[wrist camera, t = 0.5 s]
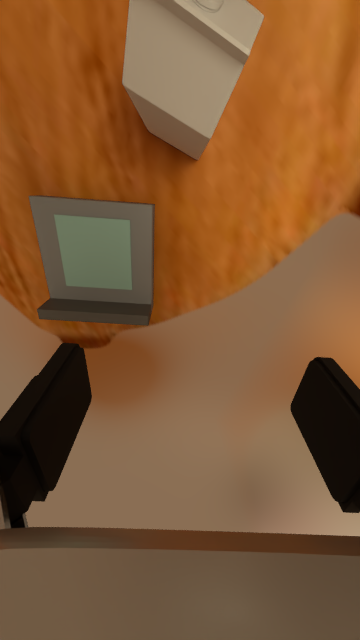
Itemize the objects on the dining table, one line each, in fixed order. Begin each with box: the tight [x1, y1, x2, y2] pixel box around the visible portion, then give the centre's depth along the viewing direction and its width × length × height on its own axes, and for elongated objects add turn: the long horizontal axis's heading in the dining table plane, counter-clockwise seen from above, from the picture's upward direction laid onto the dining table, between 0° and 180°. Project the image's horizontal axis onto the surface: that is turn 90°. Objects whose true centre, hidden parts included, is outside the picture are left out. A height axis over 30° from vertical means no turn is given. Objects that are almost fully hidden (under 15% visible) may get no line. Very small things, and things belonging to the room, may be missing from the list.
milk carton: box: [122, 0, 264, 160], centre depth 21 cm, size 7×7×19 cm
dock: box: [29, 196, 155, 325], centre depth 34 cm, size 16×16×7 cm
